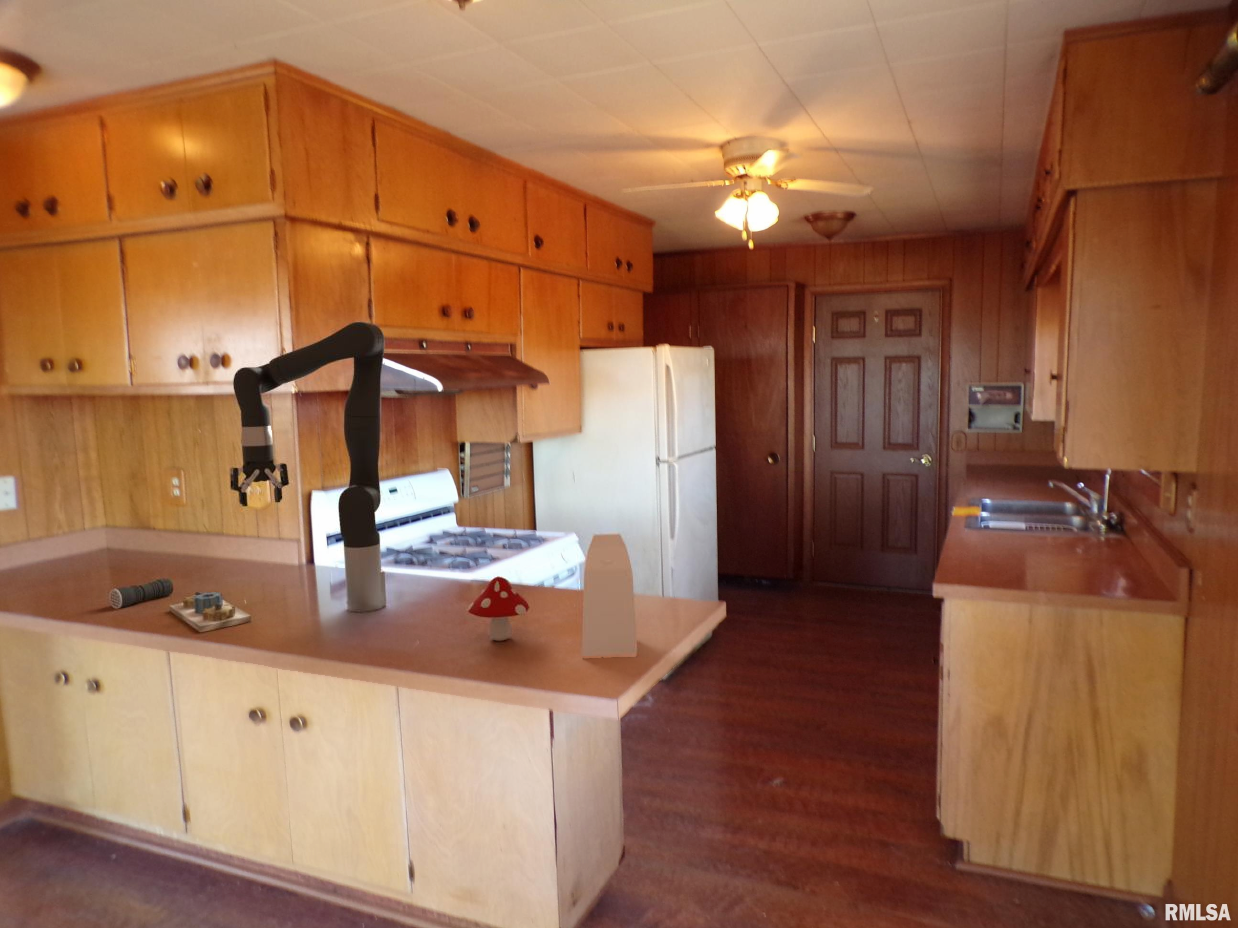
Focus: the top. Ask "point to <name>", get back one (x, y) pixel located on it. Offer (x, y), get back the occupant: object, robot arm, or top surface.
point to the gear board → (209, 615)
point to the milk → (608, 598)
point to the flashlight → (140, 593)
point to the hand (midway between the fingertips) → (261, 504)
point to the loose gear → (206, 601)
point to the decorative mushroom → (499, 607)
